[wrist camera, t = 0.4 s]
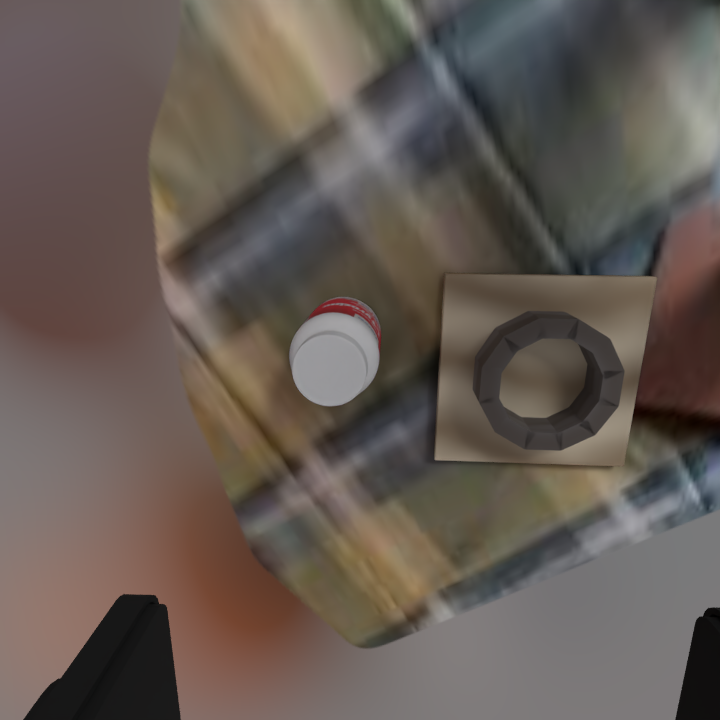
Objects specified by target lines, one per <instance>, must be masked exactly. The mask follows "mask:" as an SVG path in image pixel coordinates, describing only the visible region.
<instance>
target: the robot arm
mask: <svg viewBox="0 0 720 720" xmlns="http://www.w3.org/2000/svg"><path fill="white" fill-rule="evenodd" d="M23 720H181V719H180V711H179V702H178V693H177V685H176V677H175V669H174V661H173V652H172V644H171V637H170V628H169V620H168V611H167V607H166V605H164V604H159V602H158V598H156V596H155V595H129V594H126V595H125V594H124V595H122V596H120V597H119V598H118V599H117V600H116V601H115V603H114V604H113V606H112V607H111V608H110V610H109V611H108V613H107V614H106V616H105V617H104V618H103V620H102V621H101V623H100V624H99V625H98V627H97V628H96V630H95V631H94V633H93V634H92V635H91V637H90V638H89V640H88V641H87V643H86V644H85V645H84V647H83V648H82V649H81V651H80V652H79V654H78V655H77V657H76V658H75V659H74V661H73V662H72V663H71V665H70V666H69V668H68V669H67V671H66V672H65V673H64V675H63V676H62V678H61V679H57V680H56V681H54V682H53V683H52V684H50V685H49V687H48V688H47V689H46V690H45V691H44V692H43V693H42V695H41V696H40V698H39V699H38V700H37V702H36V703H35V704H34V706H33V707H32V708H31V710H30V711H29V713H28V714H27V715H26V717H25V718H24V719H23ZM676 720H720V608H708V609H707V610H706V611H705V613H704V615H703V617H699V618H698V619H697V620H696V623H695V627H694V632H693V637H692V642H691V646H690V652H689V657H688V661H687V666H686V671H685V676H684V680H683V685H682V690H681V695H680V700H679V705H678V710H677V715H676Z"/></svg>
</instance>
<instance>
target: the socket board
mask: <svg viewBox="0 0 720 720" xmlns="http://www.w3.org/2000/svg"><path fill="white" fill-rule="evenodd" d="M656 282H657V277H653V276H616V275H547V274H478V273H444V285H443V303H442V321H441V338H440V356H439V374H438V392H437V409H436V427H435V445H434V458H435V460H446V461H476V462H506V463H536V464H566V465H596V466H624V462H625V456H626V451H627V445H628V439H629V434H630V428H631V422H632V417H633V411H634V406H635V400H636V394H637V389H638V383H639V377H640V372H641V366H642V361H643V355H644V349H645V344H646V338H647V332H648V327H649V321H650V315H651V310H652V304H653V299H654V293H655V287H656Z"/></svg>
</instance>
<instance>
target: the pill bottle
mask: <svg viewBox="0 0 720 720" xmlns="http://www.w3.org/2000/svg"><path fill="white" fill-rule="evenodd" d="M380 345H381V328H380V324H379V321H378V318H377V316H376V315H375V313H374V312H373V310H372V309H371V308H370V307H369V306H367V305H366V304H365V303H363V302H361V301H359V300H357V299H354V298H350V297H336V298H332V299H329V300H327V301H325V302H323V303H322V304H321V305H319V306H318V307H317V308H316V309H315V310H314V311H313V313H312V314H311V315H310V316H309V317H308V318H307V319H306V321H305V322H304V323H303V324H302V326H301V327H300V328H299V329H298V330H297V332H296V334H295V336H294V338H293V340H292V343H291V346H290V351H289V360H290V366H291V369H292V375H293V379H294V382H295V385H296V386H297V388H298V390H299V391H300V392H301V393H302V394H303V396H304V397H306V398H307V399H308V400H310V401H312V402H314V403H316V404H319V405H323V406H338V405H342V404H345V403H347V402H349V401H351V400H352V399H354V398H355V397H356V396H357V395H358V394H360V393H361V392H362V391H364V390H365V389H366V388H367V387H368V386H369V385H370V383H371V382H372V380H373V379H374V377H375V375H376V372H377V369H378V365H379V358H380Z"/></svg>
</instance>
